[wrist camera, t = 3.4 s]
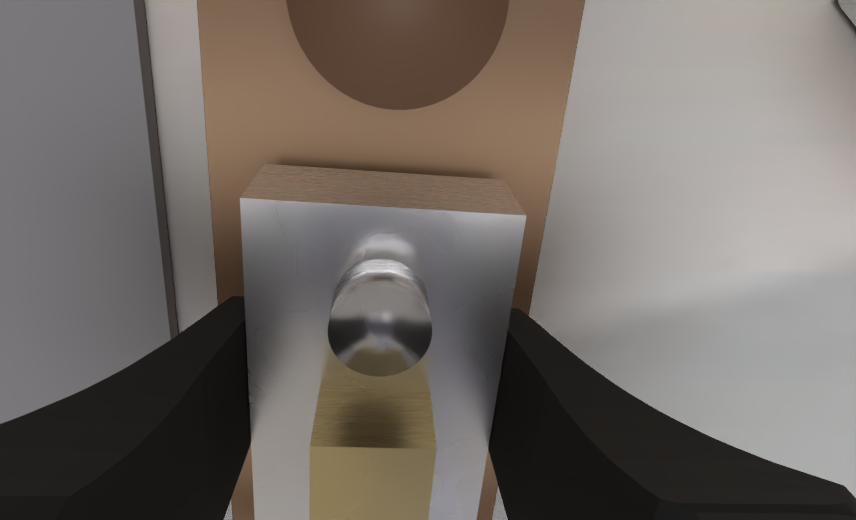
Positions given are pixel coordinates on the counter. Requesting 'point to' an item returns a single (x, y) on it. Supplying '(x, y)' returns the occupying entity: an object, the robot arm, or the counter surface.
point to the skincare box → (849, 9)
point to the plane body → (384, 109)
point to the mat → (78, 200)
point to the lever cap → (374, 339)
